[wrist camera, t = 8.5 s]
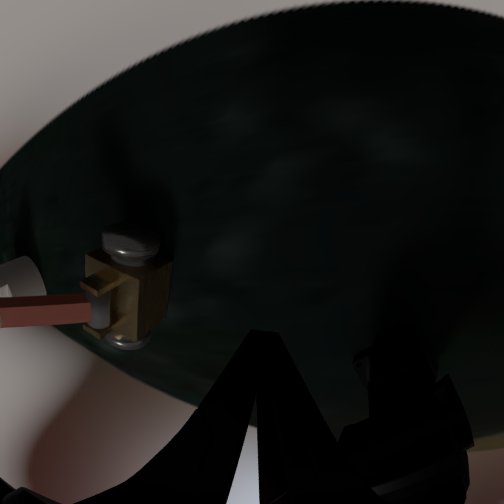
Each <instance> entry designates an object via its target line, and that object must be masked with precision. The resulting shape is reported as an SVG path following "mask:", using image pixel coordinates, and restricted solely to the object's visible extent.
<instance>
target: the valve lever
mask: <svg viewBox="0 0 504 504" xmlns="http://www.w3.org/2000/svg"><path fill="white" fill-rule="evenodd" d="M81 322H88V324H89V326H91V327H92V328H95V329H103V328H106V327H108V326H109V324H110V290H109V291H107V292H106V293H104V294H102V295H100V296H99V297H97V296H95V295H93V294H91V293H90V292H88V291H86V290H85V293H75V294H59V295H41V296H21V297H0V328H4V327H25V326H42V325H56V324H69V323H81Z"/></svg>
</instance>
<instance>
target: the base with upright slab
mask: <svg viewBox="0 0 504 504" xmlns="http://www.w3.org/2000/svg"><path fill="white" fill-rule="evenodd" d="M41 295H46V290H45V286H44V283H43V280H42V277H41V275H40V273H39V271H38V268H37V267H36V265H35V264H34V262H33V261H32V260H31V259H30V258H29V257H27V256H22V257H19V258H16V259H14V260H11V261H9V262H6V263H4V264H2V265H0V297H21V296H41Z"/></svg>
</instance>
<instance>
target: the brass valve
mask: <svg viewBox="0 0 504 504" xmlns="http://www.w3.org/2000/svg"><path fill="white" fill-rule="evenodd" d="M160 239H161V235H160V233H159V232H158V231H157V230H155V229H153V228H151V227H148V226H145V225H141V224H136V223H115V224H110V225H108V226H106V227H104V228H103V230H102V242H101V246H102V248H100V249H97V250H95V251H92V252H90V253H87V254H85V269H86V278H84V279H82V280H80V287H81V288H83V289H85V290H86V291H88V292H90V293H91V294H93V295H95V296H97V297H99V296H100V295H102V294H104V293H106V292H107V291H109V290H110V324H109V326H108V327H106V328H103V329H95V328H92V327H91V326H89V324H88V322H85V323H84V324H83V329H84V330H86V331H87V332H89V333H90V334H92V335H93V336H95V337H97V338H98V339H100V340H101V339H102V338H103V337H104V339H105V340H106V341H107V342H108V343H109V344H110V345H112V346H114V347H116V348H119V349H123V350H134V349H139V348H141V347H143V346H145V345H146V344H147V343H148V342H149V341H150V339H151V330H152V328H153V327H154V326H156V325H157V324H158V323H159V322H160V321H161V320H162V319H163V318H165V317H166V314H167V305H168V296H169V288H170V280H171V273H172V266H173V260H171V259H169V258H166V257H164V256H161V255H159V254H157V253H158V252H159V247H160Z"/></svg>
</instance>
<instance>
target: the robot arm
mask: <svg viewBox="0 0 504 504" xmlns="http://www.w3.org/2000/svg"><path fill="white" fill-rule="evenodd" d="M415 334H418V335H417V336H414V335H415ZM357 363H360V364H357ZM353 368H354V369H355V371H356V373H357V374H358V376H359V377H360V379H361V381H362V382H363V384H364V386H365V387H366V389H367V390H368V400H369V418H367V419H365V420H363V421H360V422H358V423H356V424H353V425H351V424H350V425H347V426H345V427H344V429H343V431H342V434H341V436H340V438H339V441H338V443H337V441H336V439H335V437H334V436H333V434H332V432H331V431H330V429H329V427H328V425H327V423H326V421H325V420H323V416H322V414H321V412H320V411H319V409H318V407H317V405H316V403H315V401H314V399H313V398H312V396H311V394H310V392H309V390H308V388H307V386H306V384H305V383H304V381H303V379H302V377H301V375H300V373H299V371H298V369H297V367H296V366H295V364H294V362H293V360H292V358H291V356H290V354H289V352H288V350H287V348H286V347H285V345H284V343H283V341H282V339H281V337H280V335H279V334H278V333H277V332H270V331H266V332H265V333H264V332H263V331H261V330H250V331H249V333H248V334H247V336H246V337H245V339H244V340H243V342H242V344H241V345H240V347H239V348H238V349H237V351H236V352H235V354H234V355H233V357H232V358H231V360H230V361H229V363H228V364H227V366H226V367H225V369H224V370H223V372H222V373H221V375H220V376H219V377H218V379H217V380H216V382H215V383H214V385H213V386H212V388H211V389H210V390H209V392H208V393H207V395H206V396H205V397H204V399H203V400H202V402H201V403H200V405H199V406H198V409H196V410H195V411H194V413H193V414H192V415H191V417H190V418H189V419H188V421H187V422H186V424H185V425H184V426H183V427H182V428H181V430H180V431H179V432H178V433H177V434H176V435H175V436H174V437H173V438H172V439H171V441H170V442H169V443H168V444H167V445H166V446H165V447H164V448H163V449H162V450H161V451H159V452H158V454H156V455H155V456H154V457H153V458H152V459H151V460H150V461H149V462H148V463H147V464H146V465H145V466H144V467H143V468H141V470H139V471H138V472H137V473H136V474H134V475H133V476H132V477H130V478H129V479H128V480H126V481H125V482H123V483H121V484H119V485H117V486H115V487H113V488H110V489H108V490H106V491H104V492H101V493H99V494H97V495H94V496H92V497H90V498H87V499H84V500H82V501H79V502H76V503H74V504H226V502H227V499H228V496H229V493H230V489H231V486H232V482H233V479H234V475H235V472H236V468H237V465H238V461H239V458H240V454H241V451H242V446H243V443H244V440H245V436H246V432H247V428H248V425H249V421H250V417H251V413H252V409H253V405H254V401H255V397H256V409H257V440H258V470H259V499H260V500H259V501H260V504H464V503H465V500H466V492H467V490H468V487H469V484H470V482H469V481H470V479H469V464H468V455H467V452H466V450H468V449H470V448H471V447H473V446H474V441H473V436H472V432H471V427H470V424H469V421H468V418H467V416H466V413H465V410H464V407H463V405H462V403H461V400H460V398H459V396H458V393H457V391H456V389H455V387H454V385H453V383H452V380H451V378H450V376H449V374H447V375H446V376H444V377H442V380H440V381H438V382H437V383H436V382H435V380H436V378H437V376H438V375H437V372H436V369H435V366H434V364H433V361H432V358H431V356H430V353H429V350H428V348H427V345H426V343H425V340H424V338H423V335H422V333H421V331H420V329H414V330H412V331H410V332H408V333H406V334H405V335H403V336H401V337H399V338H396V339H394V340H392V341H390V342H388V343H386V344H384V345H382V346H380V347H378V348H376V349H374V350H372V351H371V352H369V353H367V354H364V355H362V356H360V357H358V358H356V359H354V360H353ZM433 375H434V376H433ZM0 504H60V503H58V502H56V501H53V500H51V499H49V498H46V497H44V496H42V495H40V494H38V493H36V492H34V491H32V490H30V489H27V488H25V487H20V488H18V489H17V490H16V489H14V488H13V487H12V486H10V485H9V484H8V483H7V482H5V481H4V480H3V479H2V478H0Z"/></svg>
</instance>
